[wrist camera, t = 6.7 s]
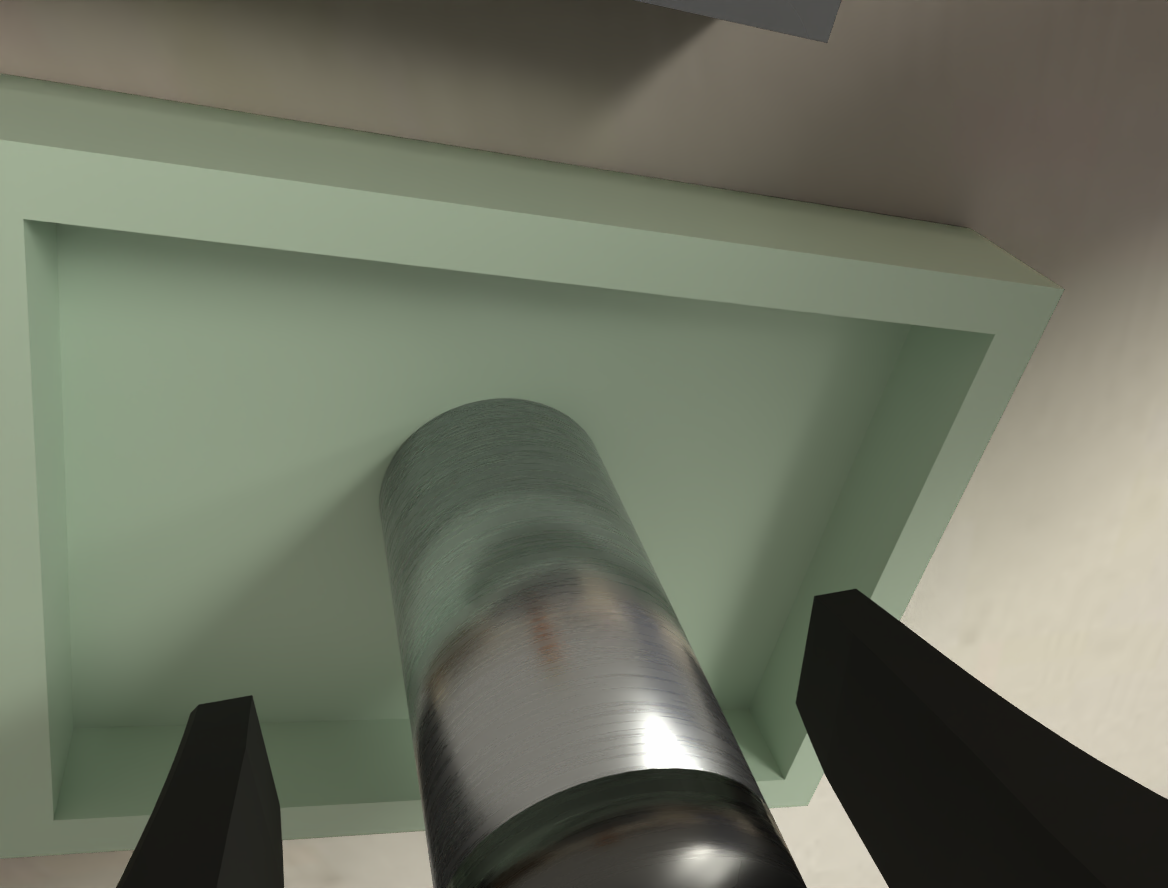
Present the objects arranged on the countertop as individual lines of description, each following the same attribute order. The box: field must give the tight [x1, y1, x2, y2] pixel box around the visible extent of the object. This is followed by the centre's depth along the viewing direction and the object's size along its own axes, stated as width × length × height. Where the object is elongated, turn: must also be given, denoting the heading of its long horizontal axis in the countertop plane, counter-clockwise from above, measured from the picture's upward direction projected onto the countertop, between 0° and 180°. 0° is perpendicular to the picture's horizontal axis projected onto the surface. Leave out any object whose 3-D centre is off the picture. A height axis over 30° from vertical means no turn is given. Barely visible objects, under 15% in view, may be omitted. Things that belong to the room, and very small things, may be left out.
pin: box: [379, 398, 807, 888], centre depth 13 cm, size 4×4×8 cm
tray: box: [0, 74, 1065, 859], centre depth 16 cm, size 14×11×2 cm
